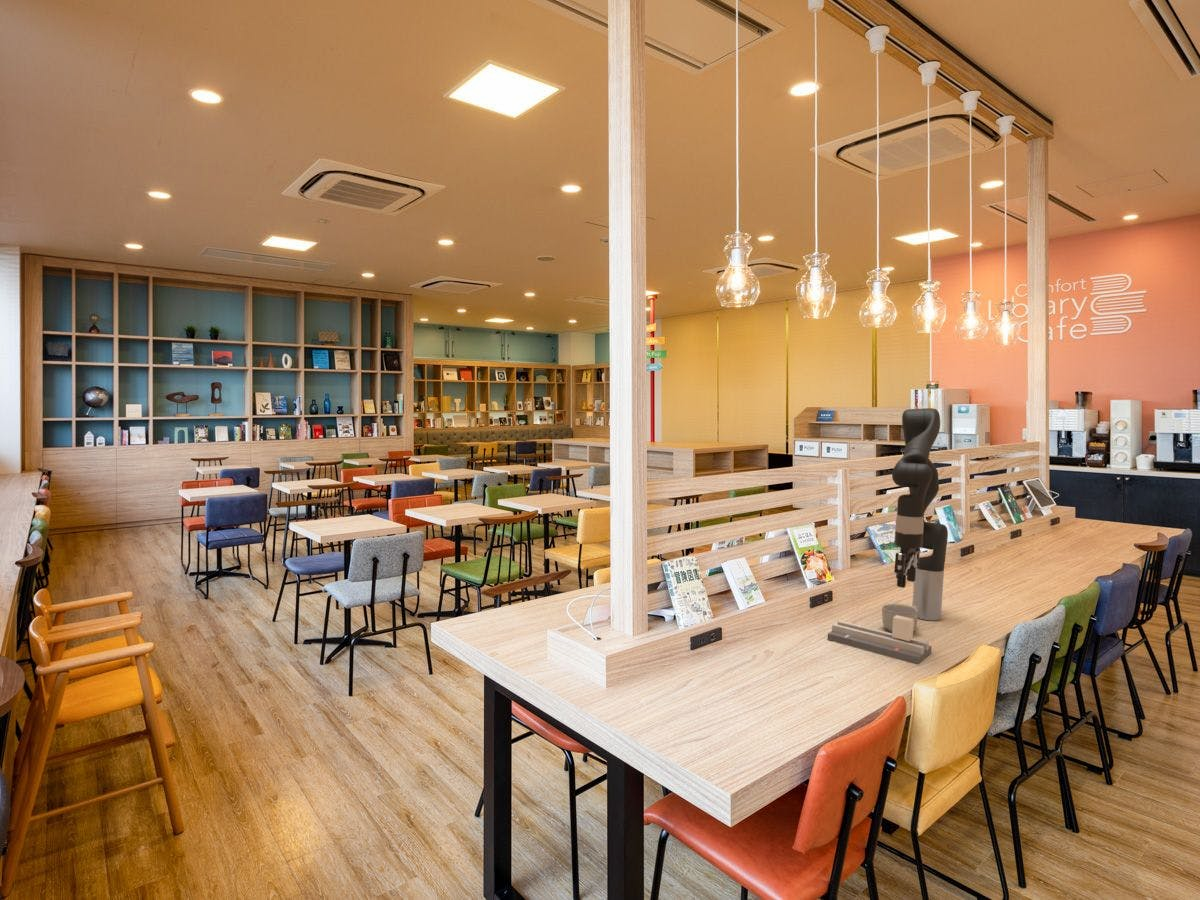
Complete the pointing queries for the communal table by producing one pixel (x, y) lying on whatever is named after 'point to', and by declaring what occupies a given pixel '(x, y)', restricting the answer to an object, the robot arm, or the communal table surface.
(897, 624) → the fader
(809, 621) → the communal table surface
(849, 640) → the track
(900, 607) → the teacup
